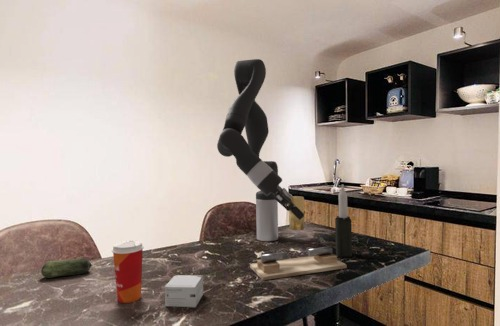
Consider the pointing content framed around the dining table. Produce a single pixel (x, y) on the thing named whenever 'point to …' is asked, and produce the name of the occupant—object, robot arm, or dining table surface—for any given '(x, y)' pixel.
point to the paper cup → (128, 270)
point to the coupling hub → (293, 220)
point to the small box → (184, 291)
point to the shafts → (284, 256)
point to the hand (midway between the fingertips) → (302, 215)
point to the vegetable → (65, 267)
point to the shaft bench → (296, 266)
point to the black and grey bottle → (343, 228)
